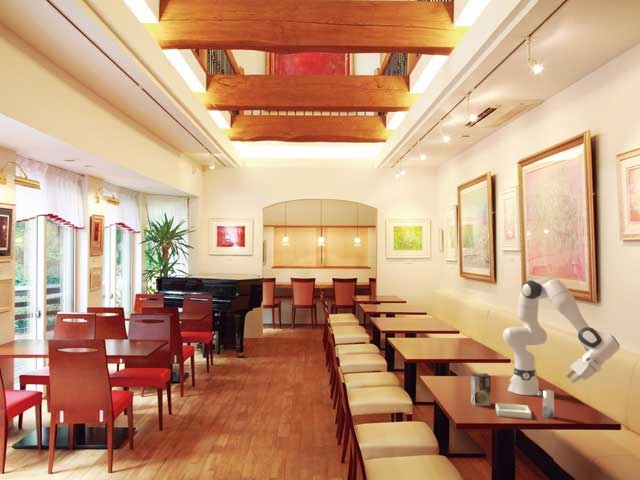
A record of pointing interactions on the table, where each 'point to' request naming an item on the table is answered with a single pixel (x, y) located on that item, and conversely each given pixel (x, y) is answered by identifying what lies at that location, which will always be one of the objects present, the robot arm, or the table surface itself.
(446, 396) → the table surface
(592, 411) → the table surface
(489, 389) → the coffee box
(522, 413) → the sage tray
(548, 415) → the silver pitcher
